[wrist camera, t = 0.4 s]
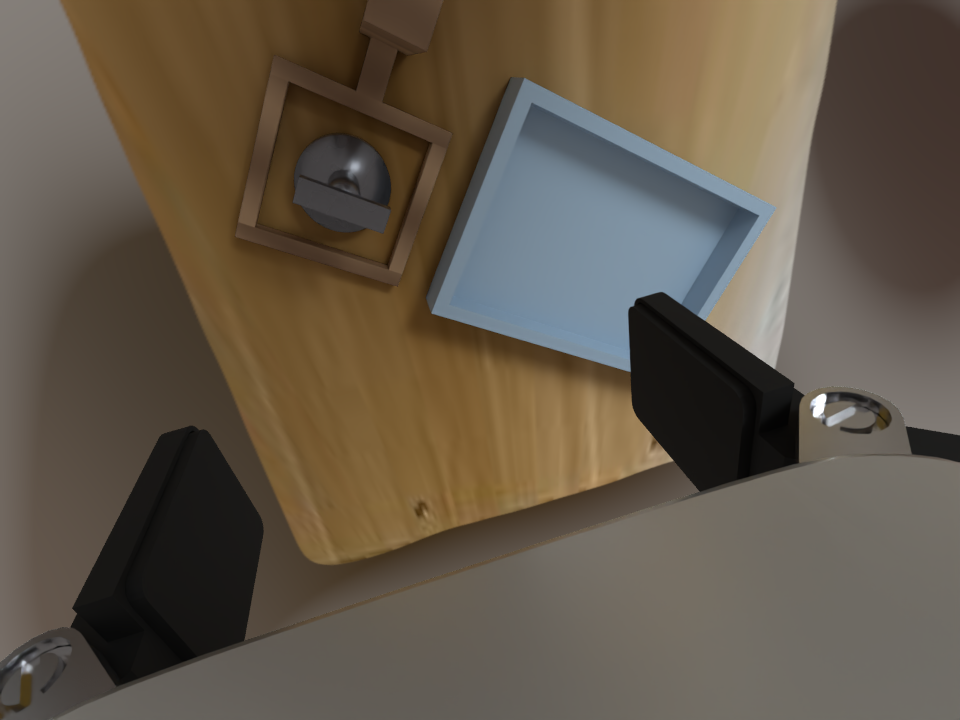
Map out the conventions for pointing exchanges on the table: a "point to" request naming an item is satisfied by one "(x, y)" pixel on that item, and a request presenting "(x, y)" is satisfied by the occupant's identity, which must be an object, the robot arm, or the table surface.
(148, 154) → the table surface
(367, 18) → the square frame with stem
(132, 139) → the table surface
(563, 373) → the table surface
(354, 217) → the lever door handle
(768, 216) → the tray
